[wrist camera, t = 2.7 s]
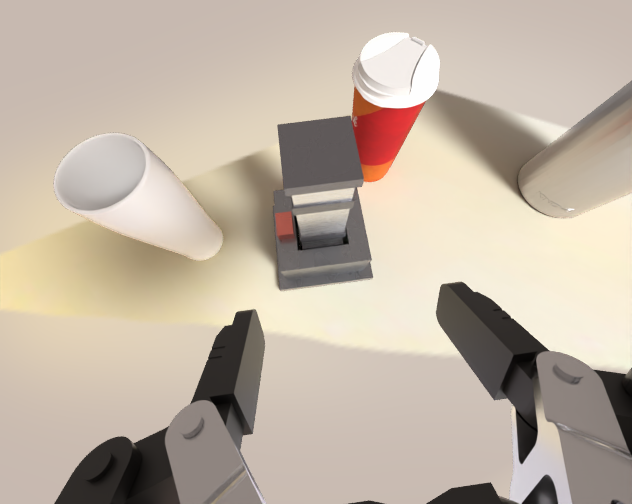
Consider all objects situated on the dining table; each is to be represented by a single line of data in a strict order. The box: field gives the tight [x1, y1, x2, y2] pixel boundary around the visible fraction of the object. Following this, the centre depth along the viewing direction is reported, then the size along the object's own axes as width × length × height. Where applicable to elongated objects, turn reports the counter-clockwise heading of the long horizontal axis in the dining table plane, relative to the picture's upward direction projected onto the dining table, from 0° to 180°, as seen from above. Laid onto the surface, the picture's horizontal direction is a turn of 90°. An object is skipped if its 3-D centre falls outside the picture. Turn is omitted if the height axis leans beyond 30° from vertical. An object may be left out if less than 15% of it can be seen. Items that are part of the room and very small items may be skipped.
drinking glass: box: [53, 133, 223, 261], centre depth 23 cm, size 7×7×15 cm
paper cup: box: [352, 32, 440, 182], centre depth 27 cm, size 8×8×14 cm
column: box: [278, 116, 364, 250], centre depth 22 cm, size 5×5×16 cm
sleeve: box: [273, 187, 373, 291], centre depth 27 cm, size 11×11×7 cm
